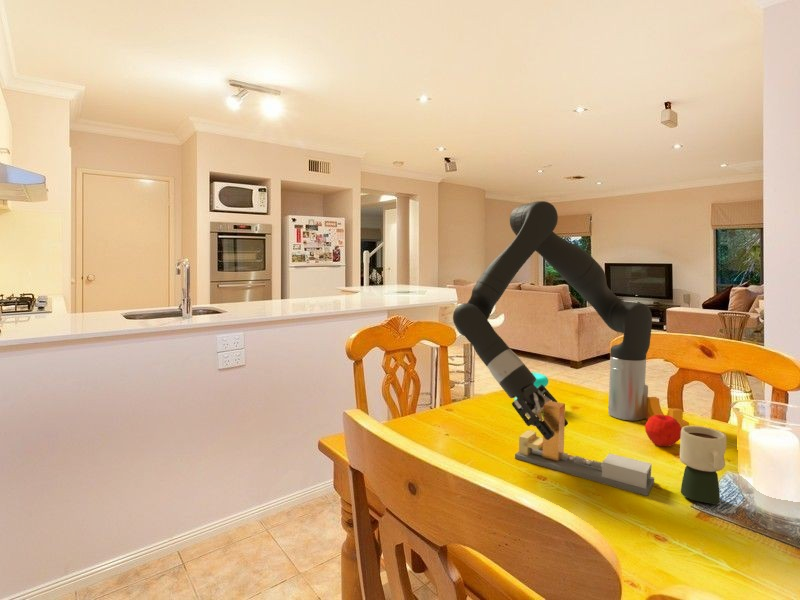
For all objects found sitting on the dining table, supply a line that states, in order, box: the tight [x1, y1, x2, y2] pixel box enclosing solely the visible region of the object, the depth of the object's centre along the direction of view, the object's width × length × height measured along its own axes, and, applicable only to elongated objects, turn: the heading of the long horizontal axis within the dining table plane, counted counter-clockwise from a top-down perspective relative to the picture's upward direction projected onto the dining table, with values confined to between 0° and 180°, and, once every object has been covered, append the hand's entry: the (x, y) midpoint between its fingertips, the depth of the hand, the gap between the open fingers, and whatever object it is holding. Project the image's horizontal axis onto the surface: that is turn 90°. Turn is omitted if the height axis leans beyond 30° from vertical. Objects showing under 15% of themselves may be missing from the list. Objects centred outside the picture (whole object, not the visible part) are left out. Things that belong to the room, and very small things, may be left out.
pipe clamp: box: [646, 396, 690, 428], centre depth 124 cm, size 12×4×6 cm, turn 2°
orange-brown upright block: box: [532, 401, 603, 470], centre depth 99 cm, size 16×4×12 cm, turn 51°
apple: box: [644, 414, 682, 447], centre depth 111 cm, size 8×8×7 cm
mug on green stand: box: [679, 425, 727, 505], centre depth 85 cm, size 11×7×13 cm, turn 172°
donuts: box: [513, 371, 549, 402], centre depth 140 cm, size 10×10×10 cm
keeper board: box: [514, 429, 655, 497], centre depth 98 cm, size 27×7×5 cm, turn 51°
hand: (558, 431), depth 100 cm, fingers open, 8 cm apart
